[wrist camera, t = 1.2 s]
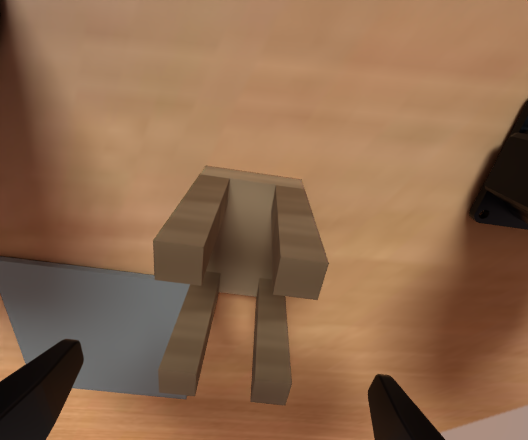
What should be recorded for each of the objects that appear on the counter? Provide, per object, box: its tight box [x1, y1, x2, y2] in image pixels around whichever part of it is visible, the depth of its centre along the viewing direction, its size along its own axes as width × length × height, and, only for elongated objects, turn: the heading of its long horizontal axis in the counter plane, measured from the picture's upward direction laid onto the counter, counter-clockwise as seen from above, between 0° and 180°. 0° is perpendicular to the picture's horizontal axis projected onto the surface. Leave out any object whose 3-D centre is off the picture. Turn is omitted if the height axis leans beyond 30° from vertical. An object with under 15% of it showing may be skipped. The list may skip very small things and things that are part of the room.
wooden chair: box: [153, 166, 329, 405], centre depth 13 cm, size 7×5×8 cm
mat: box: [0, 256, 190, 399], centre depth 20 cm, size 12×12×1 cm
